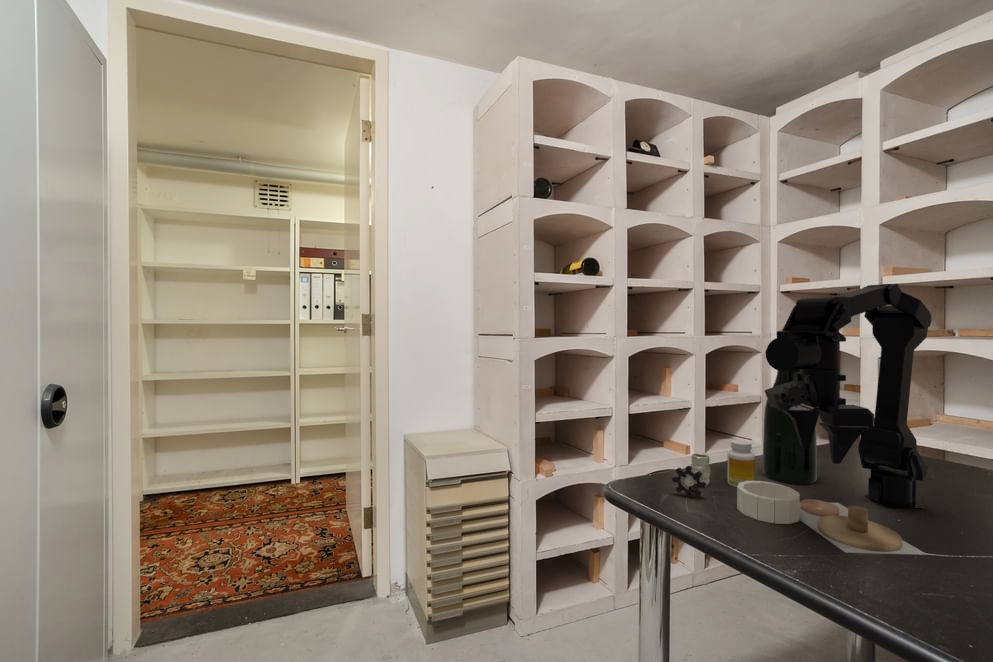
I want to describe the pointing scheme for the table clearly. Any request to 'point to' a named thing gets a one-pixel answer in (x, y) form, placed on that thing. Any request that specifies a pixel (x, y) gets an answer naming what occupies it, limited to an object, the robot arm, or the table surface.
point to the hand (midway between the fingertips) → (819, 455)
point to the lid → (859, 531)
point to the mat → (843, 511)
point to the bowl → (768, 502)
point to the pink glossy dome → (819, 507)
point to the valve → (694, 475)
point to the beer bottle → (786, 445)
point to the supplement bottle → (740, 463)
